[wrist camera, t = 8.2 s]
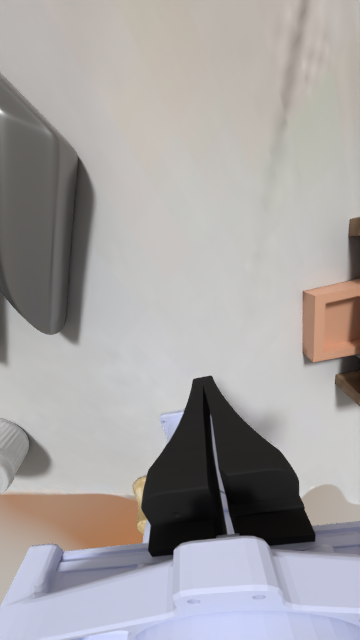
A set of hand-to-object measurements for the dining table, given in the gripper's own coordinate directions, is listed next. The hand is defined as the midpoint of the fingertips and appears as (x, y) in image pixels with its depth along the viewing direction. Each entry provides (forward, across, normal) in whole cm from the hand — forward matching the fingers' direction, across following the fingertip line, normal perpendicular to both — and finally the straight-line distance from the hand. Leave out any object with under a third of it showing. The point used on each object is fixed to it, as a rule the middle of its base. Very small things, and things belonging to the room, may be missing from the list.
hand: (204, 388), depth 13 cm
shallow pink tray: (+9, -18, +2) cm, 21 cm away
